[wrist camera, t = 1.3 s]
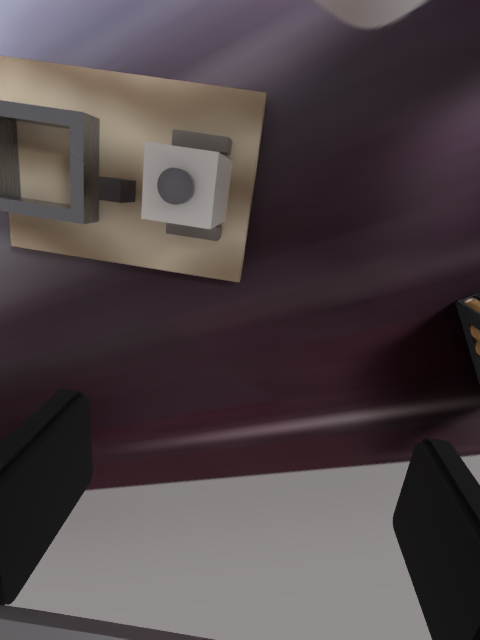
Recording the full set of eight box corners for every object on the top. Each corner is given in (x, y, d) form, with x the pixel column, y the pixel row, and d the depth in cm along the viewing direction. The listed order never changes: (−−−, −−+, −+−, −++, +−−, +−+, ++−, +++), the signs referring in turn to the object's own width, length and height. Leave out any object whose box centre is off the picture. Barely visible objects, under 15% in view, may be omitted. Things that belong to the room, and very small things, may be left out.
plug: (175, 153, 28) (138, 138, 20) (232, 161, 28) (216, 150, 20) (171, 212, 29) (135, 219, 22) (225, 220, 29) (207, 231, 22)
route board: (10, 62, 28) (-37, 39, 24) (266, 97, 27) (265, 80, 23) (22, 243, 33) (-15, 251, 29) (240, 278, 32) (235, 291, 28)
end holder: (2, 104, 28) (-23, 97, 26) (99, 118, 28) (83, 112, 25) (10, 207, 30) (-12, 209, 28) (98, 221, 30) (83, 224, 28)
